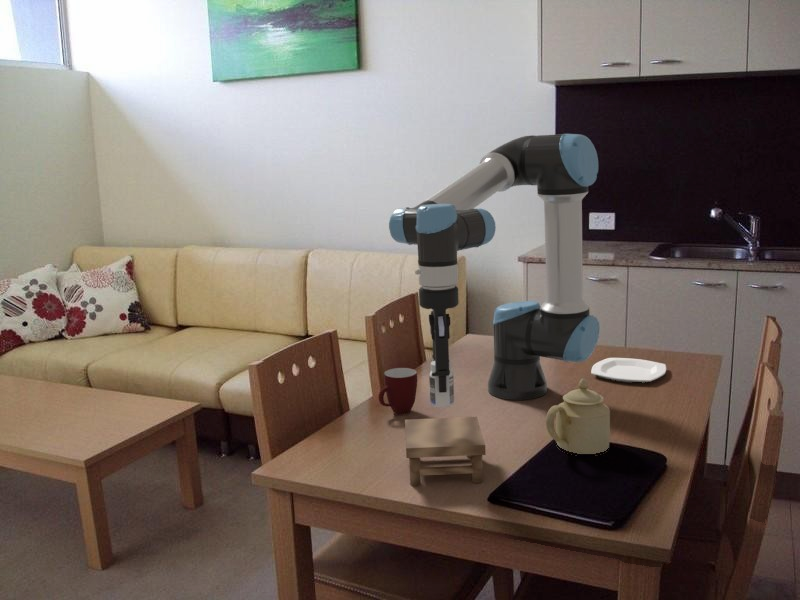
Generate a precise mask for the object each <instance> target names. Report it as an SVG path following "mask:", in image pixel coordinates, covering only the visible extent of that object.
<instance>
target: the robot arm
mask: <svg viewBox="0 0 800 600" xmlns="http://www.w3.org/2000/svg"><path fill="white" fill-rule="evenodd" d="M597 152H598V151H597V150H596V148H595V145H594V144H593V142H592V141H591V139H590V138H589V137H587V136H586V135H584V134H579V133H578V134H577V133H560V134H559V133H558V134H543V135H541V134H540V135H524V136H521V137H518V138H515V139H512V140H509V141H508V142H505V143H503V144H502V145H500V146H498V147H496V148H494V149H493V150H491V151H490V152H488V153H487V154H485V155H484V156H483V157H482V158H481V159H480V161H479V163H478V165H477V166H475V167H473V168H472V169H470V170H468V171H467V172H465V173H464V174H463V175H461V176H460V177H459V178H456V179H455V180H454V181H452V182H450V183H449V184H448V185H446V186H444V187H443V188H442V189H440V190H439V191H438V192H435V193H434V194H432V195H431V196H430V197H428V198H426V199H425V200H424V201H422V202H421V203H419V204H416V206H413V207H407V206H406V207H399V208H397V209H395V210H394V211H393V212H392V214H391V215H390V218H389V222H388V230H389V233H390V236H391V238H392V239H393V240H394V241H395V242H396V243H400V244H406V245H409V246H412V245H417V257H418V259H417V265H418V267H417V268H418V269H416V270H414V274H415V275H418V284H419V285H420V287H419V289H418V304H419V306H420V308H423V309H426V310H432V311H430V314H428V321H429V329H430V331H429V332H430V336H431V339H432V359H433V360H432V361H435V369H436V371H435V373H432V376H435V397H436V406H435V408H437V409H439V408H450V407H451V406H450V391H449V375H450V371H449V361H450V356H449V355H450V354H449V353H450V352H449V351H450V349H449V340H450V337H451V336H450V335H451V334H450V326H451V317H450V314H449V313H447V310H448V309H452V308H453V309H454V308H456V307H457V306H458V305H459V303H460V301H459V287H458V286H457V285H458V283H459V263H458V252H459V251H464V250H467V249H468V250H469V249H473V248H479V247H481V246H483V245H486V244H489V242H491V241H492V240H493V238H494V237H495V233H496V221H495V219H494V217H493V215H492V213H490V212H489V211H488V210H486V209H483V208H476V207H478V206H480V205H481V204H482V203H483V202H485V201H486V200H487V199H489V198H490V197H492V196H493V195H494V194H496V193H498V192H506V191H507V190H509V189H510V188H512V187H516V186H519V187H520V186H536V188H537V190H536V191H537V196H538V197H539V198H540V199H541V200H542V201H543V202H544V203H543V205H544V246H545V247H544V248H545V249H544V251H545V253H544V254H545V284H546V285H545V287H546V288H545V290H546V293H545V295H546V299H545V301H544V302H543V303H542V304H540V302H538V301H536V300H527V301H526V300H524V301H515V302H508V303H504V304H502V305H499V306H497V307H496V308H495V309H494V311H493V321H492V325H493V351H494V352H493V354H494V355H493V356H494V357H493V358H494V359H493V365H492V369H491V371H490V374H489V378H488V381H487V391H488V393H489V394H490V395H492V396H494V397H496V398H500V399H504V400H505V399H506V400H515V401H516V400H519V401H520V400H521V401H523V400H531V399H536V398H537V399H538V398H539V397H543V396H544V395H546V393H547V391H548V389H547V388H548V384H547V380H546V375H545V373H544V370H543V367H542V365H541V359H540V358H547V359H552V360H553V359H554V360H559V361H563V362H566V363H569V362H570V363H571V362H572V363H583V362H585V361H586V360H588V359H589V358H590V357H591V356H592V354H593V352H594V351H595V349H596V346H597V344H598V340H599V335H600V323H599V319H598V318H597V317H596V316H594V315H592V314H590V304H589V303H587V302H586V300H585V299H584V290H583V289H584V286H583V285H584V283H583V282H584V279H583V276H584V275H583V270H584V269H583V209H582V208H583V207H582V205H583V203H582V202H583V199H584V198H586V195H588V193H589V186H592V185H593V184H594V183H595V182H596V181H597V177H598V176H597V175H598V174H599V158H598V153H597Z"/></svg>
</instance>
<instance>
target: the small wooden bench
mask: <svg viewBox="0 0 800 600" xmlns="http://www.w3.org/2000/svg"><path fill="white" fill-rule="evenodd" d="M478 419H479V418H478V416H461V417H457V416H456V417H439V418H437V417H436V418H417V419H416V418H412V419H404V421H405V422H404V427H405V430H404V431H405V451H406V453H405V454H406V455H405V457H406V459H408V460H409V461H408V463H409V464H408V465H409V483H410V485H411V486H412V487H417V486H420V485H421V476H436V475H437V476H440V475H442V476H443V475H462V474H463V475H464V474H472V475H471V479H472V480H471V481H472V483H474V484H481V483H483V456H486V452H487V451H486V450H487V449H486V442H485V439H484V436H483V433H482V429H481V425H480V422H479V420H478ZM465 456H466V457H467V458H469V459H471V464H469V465H449V466H448V465H447V466H444V465H443V466H426V467H425V466H423V467H421V463H420V462H421V461H420V458H442V457H445V458H446V457H465Z"/></svg>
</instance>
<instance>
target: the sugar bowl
mask: <svg viewBox="0 0 800 600" xmlns="http://www.w3.org/2000/svg"><path fill="white" fill-rule="evenodd" d="M588 387H589V384H588V381H587V380H586V378H581V379H580V380H579V382H578V388H576V389H572V390H570V391H568V392H567V393H566V394H564V395H563V396H562V400H563V401H562V402H561V403H558V405H557V404H554V405H552V406H551V407H550V408H549V409H548V411H547V413H546V418H545V425H546V429H547V432H548V434H549V436H550V437H551V439H553V440H554V441H555V444H556V443H557V445H558V446H559V447H560V448H562V449H564V450H566V451H569V452H573V453H577V454H596V453H600V452H604V451H606V450H607V449H608V448H609V449H610V439H611V438H610V435H611V433H610V432H611V410H610V408H609V406H607V405H606V404H604V403H603V402H604V400H605V398H604V396H602V395H601V394H599V393H598V392H596V391H595V390H591V389H587V388H588ZM557 445H556V446H557ZM609 449H608V450H609ZM606 452H607V451H606Z"/></svg>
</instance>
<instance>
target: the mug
mask: <svg viewBox="0 0 800 600" xmlns="http://www.w3.org/2000/svg"><path fill="white" fill-rule="evenodd" d="M383 383H384V386H383V387H382V388H380V390H379V393H378V402H379V403H380V405H381V406H383V407H388V408H389V407H390V408H391V410H392V412H393V413H394V414H396V415H400V416H401V415H407V414H409V413H411V410H412V408H413V407H414V404H415V401H416V397H417V395H416V394H417V389H418V372H417V370H416V369H415V368H414V369H413V368H409V367H395V368H389V369H387V370H385V371H384V372H383ZM385 394H386V397H387V402H385V400H384V399H385V398H384V397H385Z"/></svg>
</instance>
